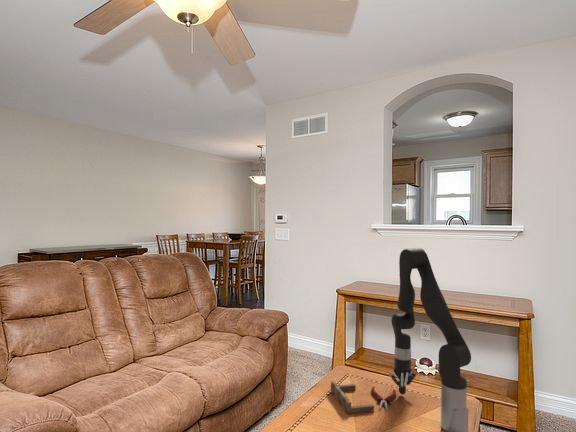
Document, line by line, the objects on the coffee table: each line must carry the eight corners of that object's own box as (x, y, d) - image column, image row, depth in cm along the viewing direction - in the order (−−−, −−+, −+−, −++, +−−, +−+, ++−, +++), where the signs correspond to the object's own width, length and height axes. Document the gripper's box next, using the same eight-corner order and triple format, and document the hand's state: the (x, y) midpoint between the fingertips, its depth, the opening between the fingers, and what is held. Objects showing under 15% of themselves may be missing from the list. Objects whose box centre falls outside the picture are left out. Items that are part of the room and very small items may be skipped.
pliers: (369, 411, 154) (369, 405, 154) (371, 390, 173) (371, 385, 173) (397, 415, 151) (397, 409, 151) (396, 394, 170) (396, 388, 170)
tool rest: (373, 411, 153) (374, 400, 153) (347, 414, 150) (347, 402, 150) (354, 389, 173) (354, 378, 173) (330, 391, 170) (330, 380, 170)
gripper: (393, 360, 162) (393, 398, 162) (419, 358, 165) (419, 396, 165) (385, 354, 170) (385, 391, 170) (411, 352, 173) (410, 388, 172)
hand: (402, 393), depth 167 cm, fingers closed
